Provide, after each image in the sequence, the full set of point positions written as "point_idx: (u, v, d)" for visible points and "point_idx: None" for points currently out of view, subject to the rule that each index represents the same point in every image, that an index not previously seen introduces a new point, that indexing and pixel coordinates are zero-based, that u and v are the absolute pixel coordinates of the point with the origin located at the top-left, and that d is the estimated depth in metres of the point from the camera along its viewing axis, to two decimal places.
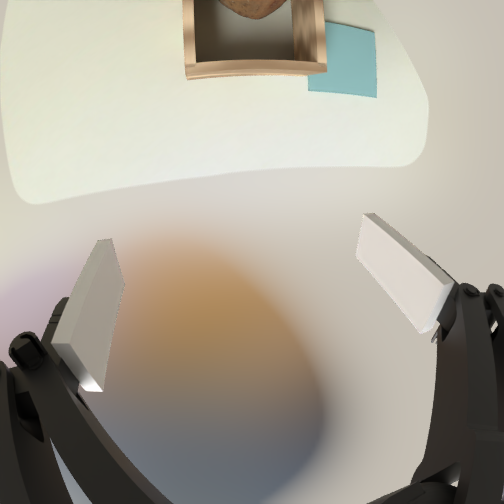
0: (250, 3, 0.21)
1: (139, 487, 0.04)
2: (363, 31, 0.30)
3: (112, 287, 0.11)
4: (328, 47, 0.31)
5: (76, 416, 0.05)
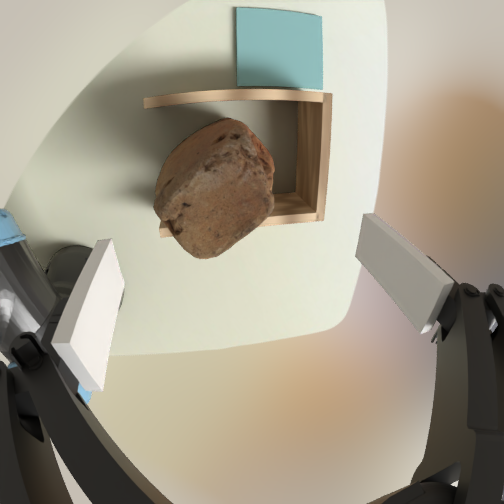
0: None
1: (139, 487, 0.04)
2: (239, 20, 0.26)
3: (112, 287, 0.11)
4: (272, 64, 0.30)
5: (76, 416, 0.05)
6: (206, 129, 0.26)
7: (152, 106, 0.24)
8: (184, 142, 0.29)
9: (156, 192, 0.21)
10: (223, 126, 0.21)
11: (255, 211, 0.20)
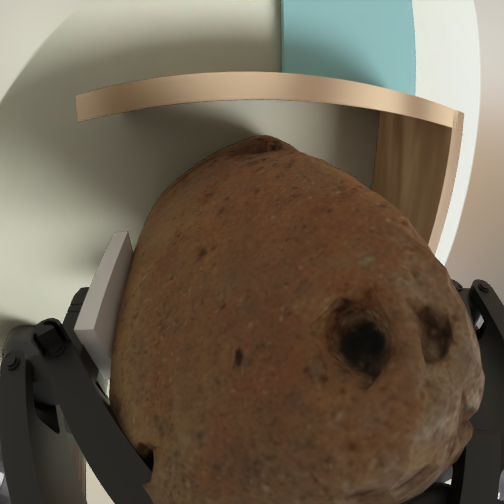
0: None
1: None
2: None
3: None
4: (343, 41, 0.15)
5: (97, 404, 0.05)
6: (235, 176, 0.10)
7: (96, 114, 0.09)
8: (179, 194, 0.13)
9: None
10: (320, 205, 0.06)
11: None
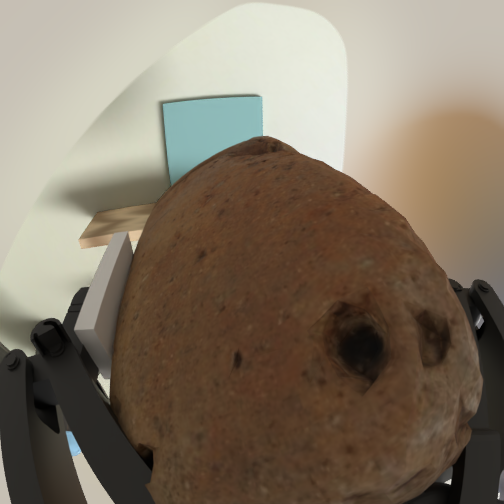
0: None
1: None
2: (166, 120, 0.29)
3: None
4: None
5: (97, 404, 0.05)
6: (235, 177, 0.10)
7: (87, 246, 0.27)
8: (179, 195, 0.13)
9: None
10: (319, 208, 0.06)
11: None
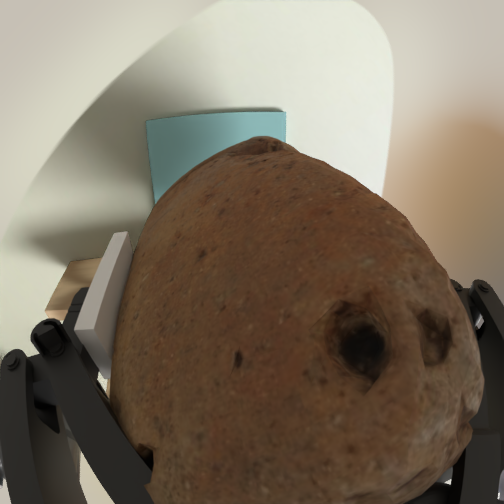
0: None
1: None
2: (151, 144, 0.21)
3: None
4: None
5: (97, 404, 0.05)
6: (235, 177, 0.10)
7: None
8: (179, 195, 0.13)
9: None
10: (320, 207, 0.06)
11: None
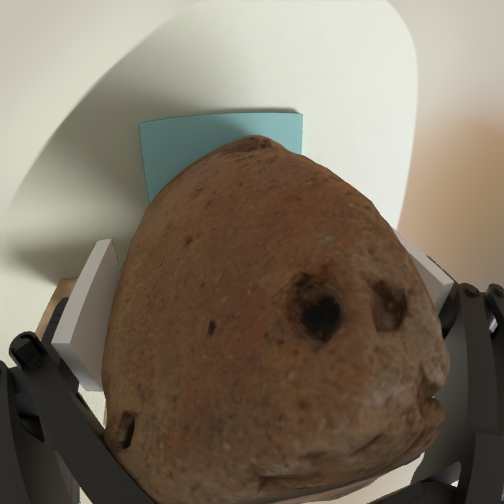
0: None
1: (139, 487, 0.04)
2: (146, 150, 0.18)
3: (112, 287, 0.11)
4: None
5: (76, 416, 0.05)
6: (223, 172, 0.11)
7: None
8: (174, 190, 0.14)
9: (103, 388, 0.07)
10: (292, 194, 0.07)
11: (378, 475, 0.05)
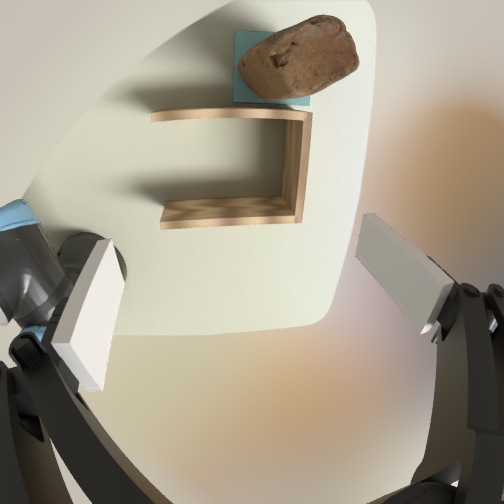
0: None
1: (139, 487, 0.04)
2: (237, 42, 0.32)
3: (112, 287, 0.11)
4: None
5: (76, 416, 0.05)
6: None
7: (158, 120, 0.30)
8: None
9: (255, 47, 0.21)
10: None
11: (346, 62, 0.19)
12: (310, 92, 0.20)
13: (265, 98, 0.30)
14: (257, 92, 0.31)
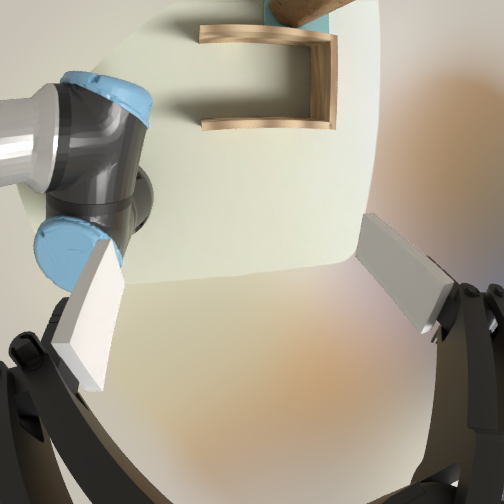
0: None
1: (139, 487, 0.04)
2: None
3: (112, 287, 0.11)
4: None
5: (76, 416, 0.05)
6: None
7: (206, 31, 0.28)
8: None
9: None
10: None
11: None
12: None
13: (298, 20, 0.29)
14: (290, 17, 0.29)
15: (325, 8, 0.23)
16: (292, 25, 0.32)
